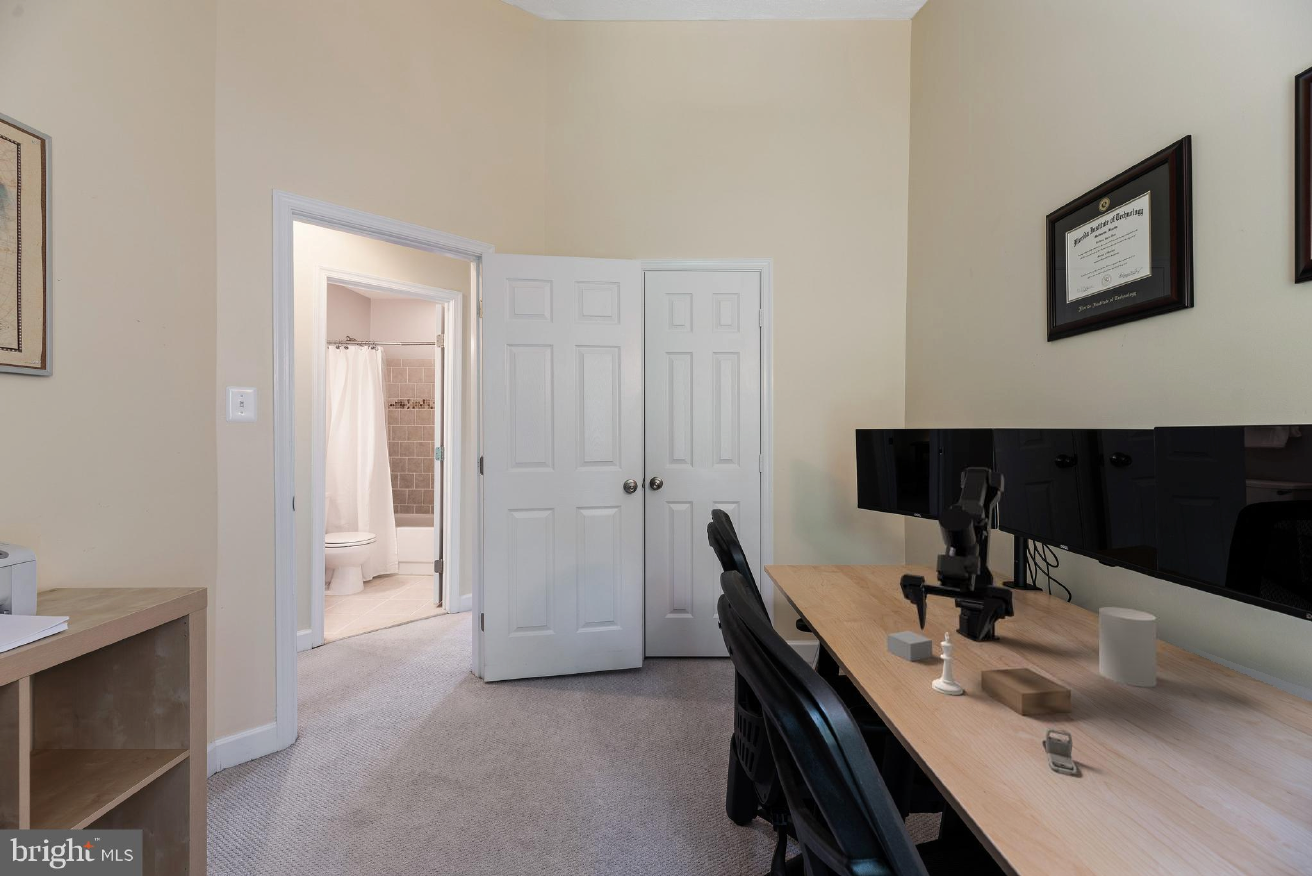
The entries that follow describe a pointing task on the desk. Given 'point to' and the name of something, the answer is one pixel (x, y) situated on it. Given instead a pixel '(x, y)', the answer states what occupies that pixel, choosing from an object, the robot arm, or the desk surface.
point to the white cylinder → (1127, 646)
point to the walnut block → (1026, 691)
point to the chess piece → (947, 672)
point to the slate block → (909, 645)
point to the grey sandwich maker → (1059, 753)
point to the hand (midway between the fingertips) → (949, 633)
